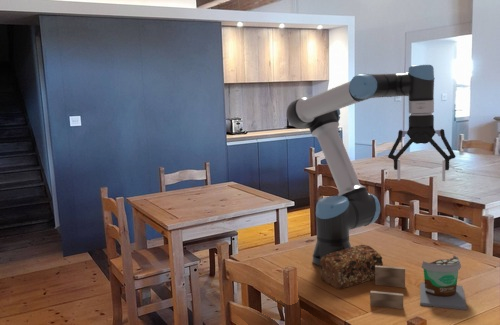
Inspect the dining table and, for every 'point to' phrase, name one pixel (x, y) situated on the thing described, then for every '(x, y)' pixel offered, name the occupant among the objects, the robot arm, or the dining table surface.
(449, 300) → the mat
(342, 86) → the robot arm
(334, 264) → the bread
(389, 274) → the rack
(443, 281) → the food container
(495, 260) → the dining table surface
